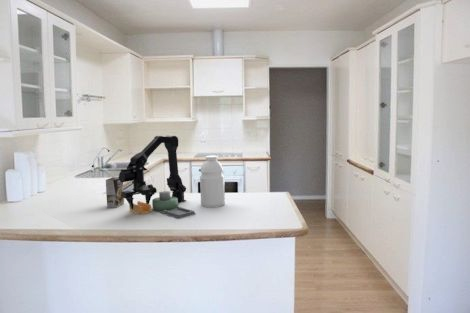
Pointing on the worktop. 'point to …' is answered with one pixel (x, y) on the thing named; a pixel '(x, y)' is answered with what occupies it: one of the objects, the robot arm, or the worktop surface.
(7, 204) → the worktop surface
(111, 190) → the coffee box
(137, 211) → the chute
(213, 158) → the bottle
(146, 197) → the robot arm
